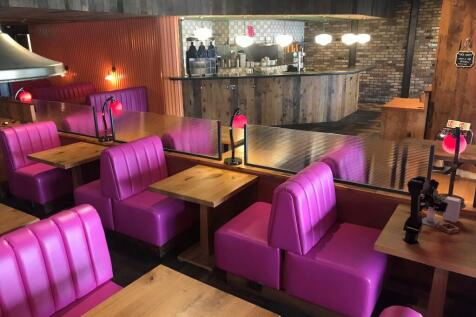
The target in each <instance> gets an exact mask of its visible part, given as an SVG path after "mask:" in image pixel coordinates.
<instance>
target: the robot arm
mask: <svg viewBox="0 0 476 317" xmlns="http://www.w3.org/2000/svg"><path fill="white" fill-rule="evenodd" d="M406 184H407V185H406V186H407V192H408V193H409V194H410V208H409V209H410V211H409V213H410V214H409V216H408V217H407V219H406V220H405V221H404V225H403V230H402V231H405V233H404V238H403V237H402V240H403V241H404V242H405V243H408V244H409V245H414V244H419V243H420V242H419V241H418V239H419V235H420V234H421V233H422V230H423V225H424V224H423V223H422V219H423V215H420V212H419V209H420V207H423V209H426V210H428V207H432V208H433V207H435V212H441V213H443V212H446V209H447V207H448V203H447V202H445V201H444V200H443V201H438V196H439V191H438V188H439V185H440V182H438V180H436V179H433V178H431V179H429V180H428V177H427V176H423V175H419V174H418V175H417V176H414V177H411V178H410V179H409V180H408V181H407V183H406ZM420 195H423V196H424V198H423V197H422V196H420ZM422 198H423V199H422Z"/></svg>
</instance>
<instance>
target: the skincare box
mask: <svg viewBox="0 0 476 317" xmlns="http://www.w3.org/2000/svg"><path fill="white" fill-rule="evenodd" d="M444 202H447V203H448V207H447V209H446V212H442V220H444V221H447V222H452V223H455V224H456V223H457V222H458V221H459V218H460V210H461V203H462V198H457V197H453V196H447V197H446V198H445V199H444Z"/></svg>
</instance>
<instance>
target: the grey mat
mask: <svg viewBox="0 0 476 317" xmlns="http://www.w3.org/2000/svg"><path fill="white" fill-rule="evenodd" d="M426 218H427V216H424V217H422V223H423V225H425V226H428V227H432V228H436V226H438V224H440V220H439V219H435V218H434V221H433V222H430V221H427V220H426Z"/></svg>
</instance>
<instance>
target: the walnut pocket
mask: <svg viewBox="0 0 476 317" xmlns="http://www.w3.org/2000/svg"><path fill="white" fill-rule="evenodd" d="M437 229H439V230H441V231H442V232H444V233H446V234H454V233H459V231H460V228H459V227H457V226H456V225H454V224H451V223H450V222H444V223H438V224H437Z"/></svg>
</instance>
